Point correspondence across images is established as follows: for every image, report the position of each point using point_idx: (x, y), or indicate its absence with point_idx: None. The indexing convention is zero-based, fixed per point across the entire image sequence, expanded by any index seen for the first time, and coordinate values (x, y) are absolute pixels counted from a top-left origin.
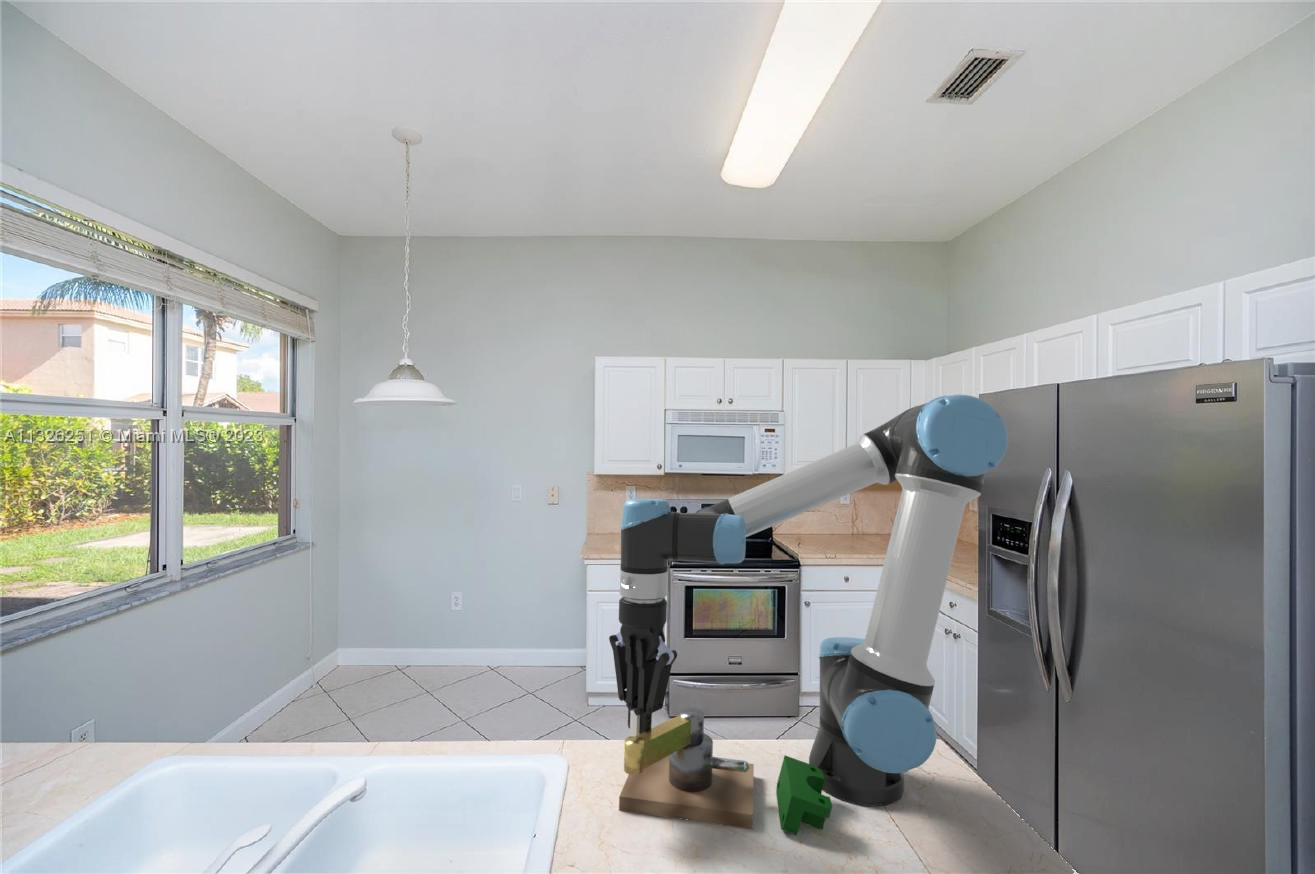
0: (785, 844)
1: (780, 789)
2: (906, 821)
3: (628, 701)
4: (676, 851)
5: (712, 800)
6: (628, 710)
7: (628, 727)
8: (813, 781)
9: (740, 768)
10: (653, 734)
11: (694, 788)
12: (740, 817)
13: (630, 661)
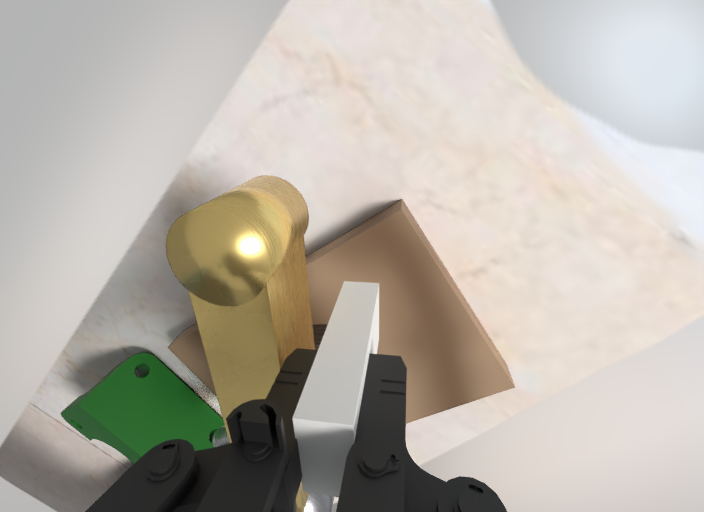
0: (130, 332)
1: (193, 427)
2: (95, 457)
3: (377, 486)
4: (211, 190)
5: None
6: (404, 431)
7: (400, 357)
8: None
9: (221, 429)
10: (231, 363)
11: None
12: (187, 333)
13: None
